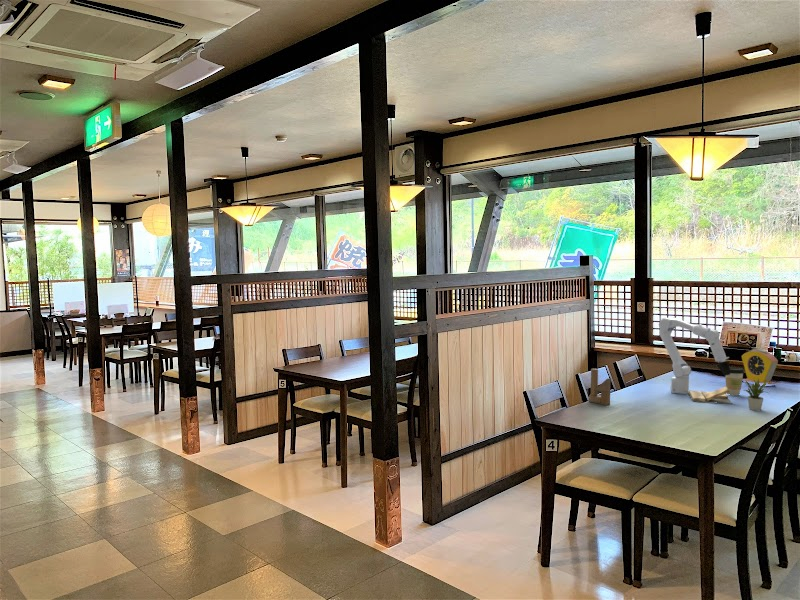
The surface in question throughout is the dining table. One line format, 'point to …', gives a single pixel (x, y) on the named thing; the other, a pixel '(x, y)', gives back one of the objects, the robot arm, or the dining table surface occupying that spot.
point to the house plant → (755, 395)
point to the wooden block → (603, 388)
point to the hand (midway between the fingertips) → (727, 375)
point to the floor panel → (700, 397)
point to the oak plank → (716, 393)
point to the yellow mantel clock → (759, 365)
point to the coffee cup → (734, 380)
